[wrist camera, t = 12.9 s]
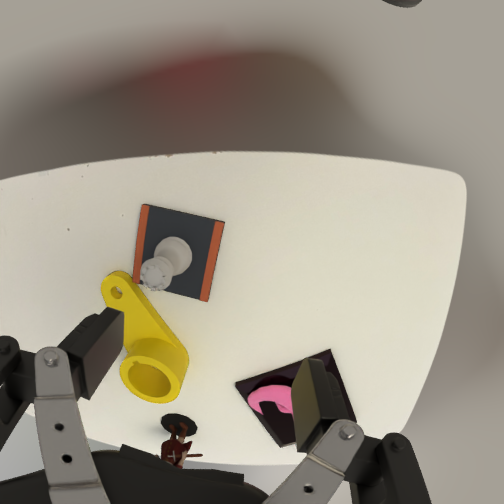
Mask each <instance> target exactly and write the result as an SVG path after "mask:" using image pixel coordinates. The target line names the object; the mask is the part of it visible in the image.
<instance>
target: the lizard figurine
mask: <svg viewBox="0 0 504 504" xmlns="http://www.w3.org/2000/svg"><path fill="white" fill-rule="evenodd" d="M309 358H312V359H318V360H322V361H323V363H324V366H325V370H326V372H331V373H332V374H333V376H334V377H335V378H336V379H337V380H338V383H339V386H340V391H341V393H342V397H343V399H344V402H345V405H346V408H347V411H348V415H349V418H350V421H353V422H355V423H357V420H356V417H355V414H354V412H353V409H352V406H351V403H350V400H349V398H348V395H347V392H346V389H345V387H344V384H343V381H342V379H341V376H340V373H339V371H338V368H337V365H336V363H335V360H334V357H333V355H332V352H331V350H330V349H329V350H326V351H324V352H321V353H319V354H316V355H314V356H311V357H309ZM302 362H303V360H301V361H298V362H296V363H293V364H290V365H287V366H285V367H282V368H279V369H276V370H273V371H270V372H267V373H264V374H261V375H258V376H255V377H252V378H249V379H246V380H242V381H239V382H236V385H235V387H236V388H237V390H238V391H239V392H240V394H241V395H242V397H243V398H244V400H245V401H246V402H247V404H248V405H249V407H250V408H251V409H252V411H253V412H254V414H255V415H256V416H257V418H258V419H259V420H260V422H261V423H262V424H263V426H264V427H265V428H266V430H267V431H268V432H269V434H270V435H271V436H272V438H273V439H274V440H275V442H276V443H277V444H278V445H279V447H280V448H281V447H285V446H289V445H292V444H296V436H295V427H294V418H293V410H292V401H291V388H292V384H293V381H294V379H295V377H296V375H297V373H298V371H299V369H300V366H301V364H302Z"/></svg>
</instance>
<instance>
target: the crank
mask: <svg viewBox="0 0 504 504" xmlns="http://www.w3.org/2000/svg"><path fill="white" fill-rule="evenodd" d="M132 281H133V278H132V277H131V276H130V275H129V274H127V273H125V272H122V271H115V272H112V273H111V274H110V275H108V276H107V277H106V278H105V279H104V280H103V282H102V284H101V293H102V296H103V298H104V301H105V303H106V306H107V307H111V308H114V309H117V310H120V311H123V312H124V342H123V344H124V346H125V348H126V350H127V352H128V354H127V356H126V357H125V359H124V360H123V362H122V364H121V366H120V377H121V379H122V381H123V383H124V385H125V386H126V387H127V388H128V389H129V390H130V391H131V392H132V393H133V394H134V395H136V396H137V397H139V398H141V399H143V400H145V401H148V402H152V403H159V404H161V403H168V402H171V401H173V400H175V399H176V398H177V397H178V395H179V393H180V389H181V386H182V383H183V380H184V377H185V374H186V371H187V368H188V364H189V356H188V353H187V351H186V349H185V347H184V346H183V345H182V344H181V342H180V341H179V340H178V339H177V337H176V336H175V335H174V334H173V332H172V331H171V330H170V329H169V327H168V326H167V325H166V323H165V322H164V321H163V320H162V318H161V317H160V316H159V314H158V313H157V312H156V310H155V309H154V308H153V306H152V305H151V304H150V302H149V301H148V299H147V298H146V297H145V295H144V294H143V293H142V291H141V290H140V288H139V287H138V285H137V284H136V283H133V282H132ZM116 287H118V288H120V289H121V291H122V294H120V293H119V292H118V291H117V289H116ZM152 366H154V367H156V368H158V369H159V370H158V369H156V368H154V367H152Z"/></svg>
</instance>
